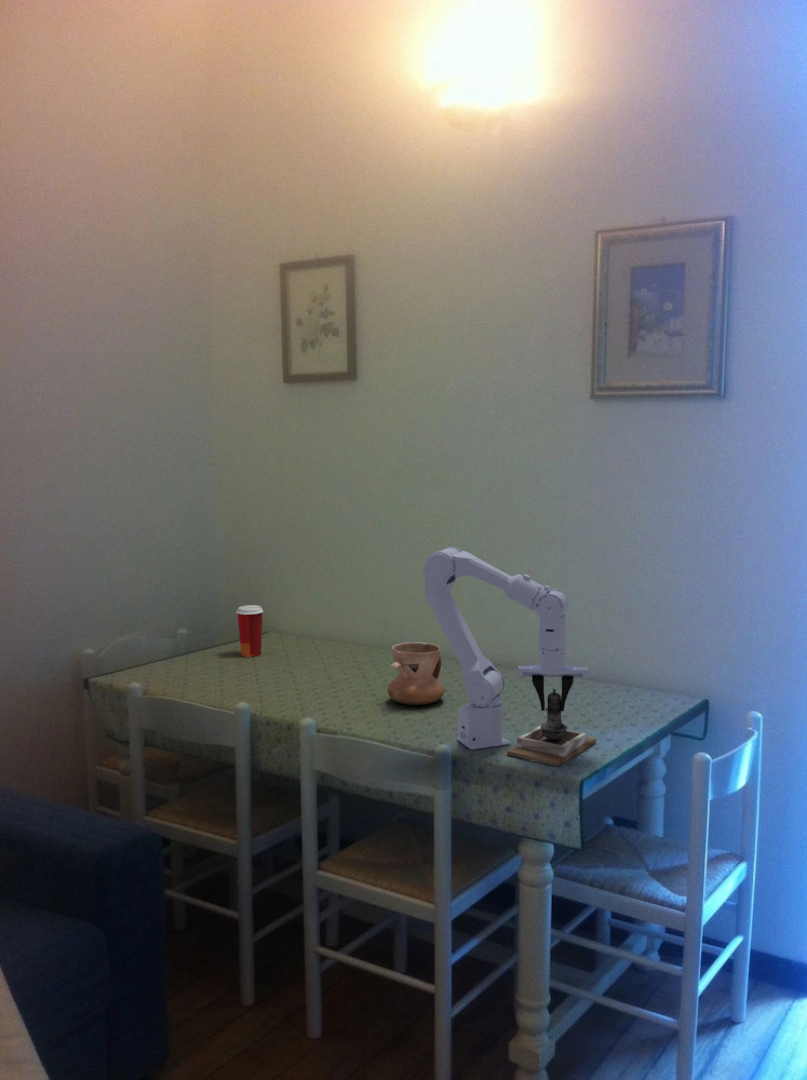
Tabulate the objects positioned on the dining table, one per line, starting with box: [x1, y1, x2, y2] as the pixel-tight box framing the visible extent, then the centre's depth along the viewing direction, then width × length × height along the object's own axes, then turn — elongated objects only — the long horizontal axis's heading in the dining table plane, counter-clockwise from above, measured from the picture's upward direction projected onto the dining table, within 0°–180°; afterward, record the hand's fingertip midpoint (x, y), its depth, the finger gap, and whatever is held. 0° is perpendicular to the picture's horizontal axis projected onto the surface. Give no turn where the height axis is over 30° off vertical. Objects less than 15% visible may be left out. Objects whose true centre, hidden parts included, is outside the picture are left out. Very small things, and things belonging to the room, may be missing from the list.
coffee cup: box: [235, 604, 264, 658], centre depth 297 cm, size 8×8×15 cm
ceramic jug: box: [386, 641, 445, 706], centre depth 245 cm, size 18×14×14 cm
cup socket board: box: [506, 724, 597, 767], centre depth 208 cm, size 18×12×3 cm, turn 144°
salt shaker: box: [540, 688, 569, 745], centre depth 208 cm, size 6×6×12 cm
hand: (552, 709), depth 207 cm, fingers closed on salt shaker, 3 cm apart
